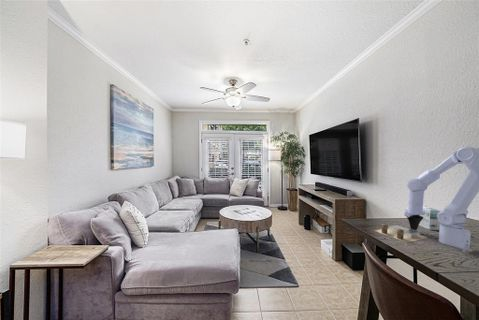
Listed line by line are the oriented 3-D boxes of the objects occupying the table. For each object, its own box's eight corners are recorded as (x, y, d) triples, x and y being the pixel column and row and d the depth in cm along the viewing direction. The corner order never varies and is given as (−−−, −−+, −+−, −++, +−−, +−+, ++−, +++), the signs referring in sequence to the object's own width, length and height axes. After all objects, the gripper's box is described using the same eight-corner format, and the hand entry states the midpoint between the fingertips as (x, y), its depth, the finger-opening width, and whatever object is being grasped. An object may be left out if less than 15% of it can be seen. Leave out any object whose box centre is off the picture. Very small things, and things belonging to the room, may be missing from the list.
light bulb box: (441, 230, 116) (443, 210, 115) (429, 230, 116) (430, 210, 115) (425, 224, 126) (426, 206, 126) (413, 223, 126) (414, 205, 126)
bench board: (426, 240, 101) (427, 229, 100) (407, 244, 94) (408, 233, 94) (392, 229, 114) (393, 219, 114) (373, 232, 107) (374, 222, 107)
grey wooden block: (419, 236, 102) (419, 232, 102) (411, 238, 99) (411, 233, 99) (396, 229, 111) (397, 225, 111) (388, 230, 108) (388, 226, 108)
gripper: (414, 200, 115) (412, 225, 116) (398, 202, 109) (396, 228, 110) (430, 203, 109) (428, 230, 109) (414, 205, 103) (412, 233, 103)
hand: (413, 229), depth 109 cm, fingers closed
